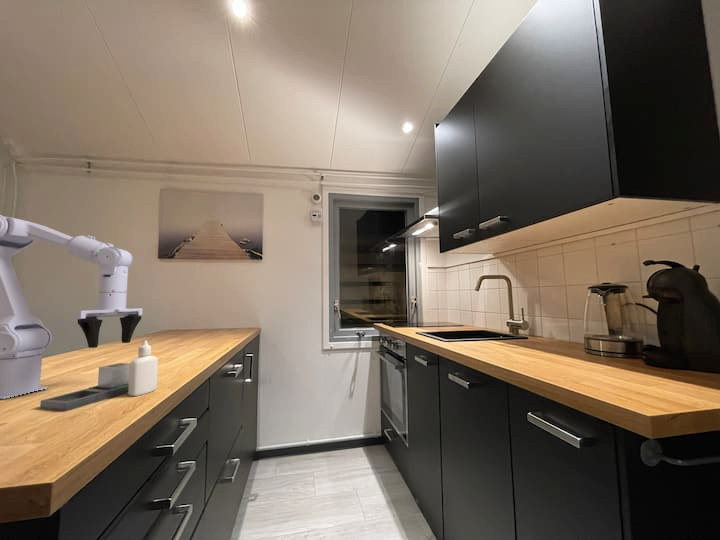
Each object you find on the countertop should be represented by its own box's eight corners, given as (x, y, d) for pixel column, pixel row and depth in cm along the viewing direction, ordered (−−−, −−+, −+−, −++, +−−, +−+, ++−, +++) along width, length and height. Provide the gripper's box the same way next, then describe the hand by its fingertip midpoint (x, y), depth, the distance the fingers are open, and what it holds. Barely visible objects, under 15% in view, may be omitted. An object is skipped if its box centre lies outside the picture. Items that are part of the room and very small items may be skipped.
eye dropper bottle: (126, 393, 67) (129, 341, 68) (155, 388, 71) (157, 338, 72) (129, 398, 64) (131, 343, 65) (159, 391, 68) (161, 340, 69)
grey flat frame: (40, 408, 59) (40, 399, 59) (119, 386, 73) (119, 379, 74) (65, 411, 57) (66, 402, 57) (142, 388, 71) (142, 381, 71)
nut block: (97, 393, 67) (98, 366, 68) (118, 387, 71) (119, 362, 72) (110, 394, 66) (112, 367, 66) (131, 388, 70) (132, 363, 71)
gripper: (90, 291, 68) (87, 350, 67) (151, 292, 82) (149, 341, 80) (71, 292, 70) (67, 349, 69) (133, 293, 84) (131, 340, 82)
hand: (110, 345), depth 75 cm, fingers open, 7 cm apart
